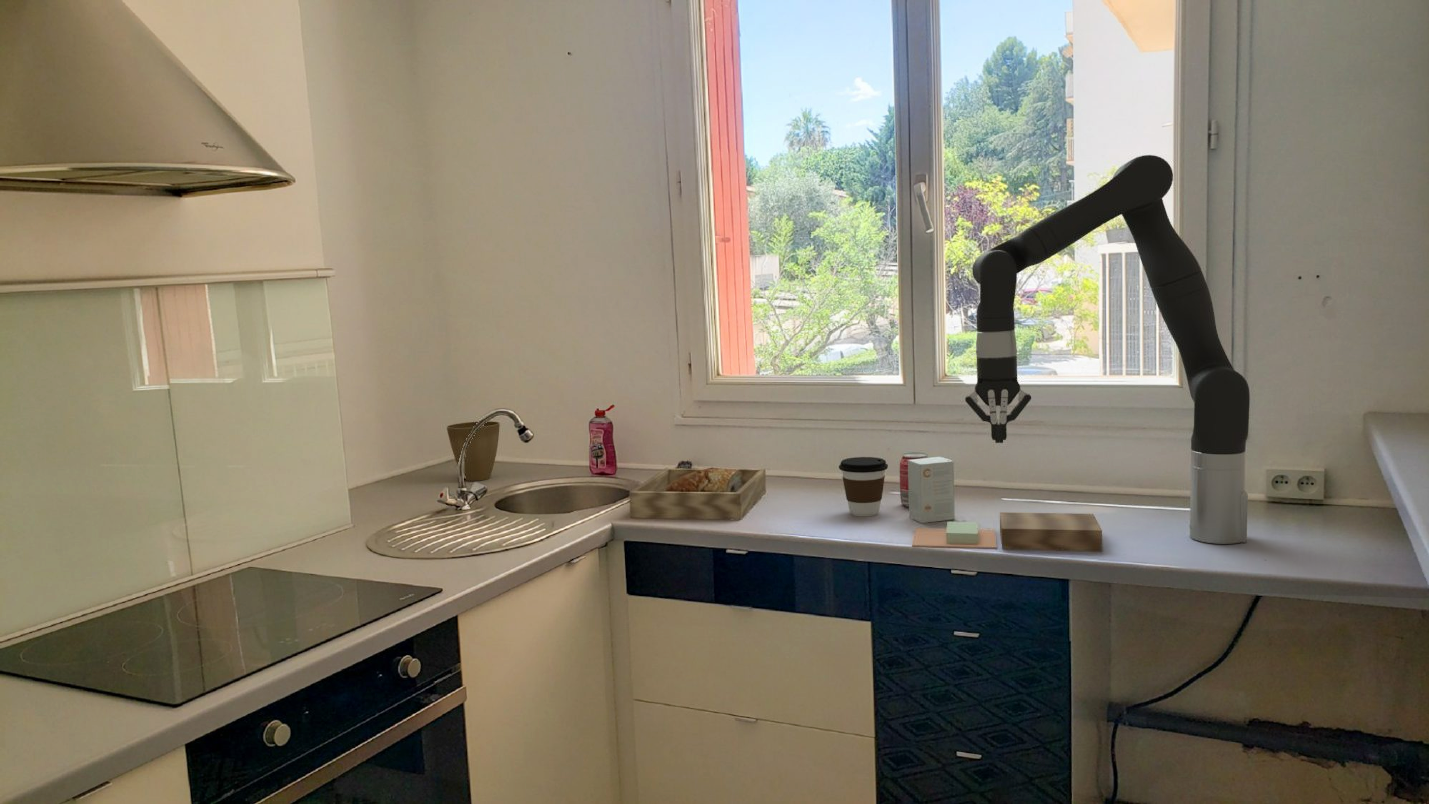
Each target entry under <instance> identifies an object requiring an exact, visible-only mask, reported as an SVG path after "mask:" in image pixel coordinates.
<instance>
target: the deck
mask: <svg viewBox="0 0 1429 804" xmlns="http://www.w3.org/2000/svg"><path fill="white" fill-rule="evenodd" d="M1098 522H1099V521H1098V520H1097V518H1096V515H1095V514H1094V513H1063V512H1061V513H1060V512H1055V513H1054V512H1007V511H1006V512H1001V511H1000V512H999V535H1000V543H1001V548H1002V550H1030V549H1039V550H1040V549H1041V551H1071V550H1074V551H1073V552H1075V551H1076V550H1077V551H1078V550H1079V551H1078V552H1081V550H1082V552H1083V551H1084V552H1103V530H1102V527H1101V525H1100V524H1099V523H1098Z"/></svg>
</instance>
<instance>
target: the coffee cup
mask: <svg viewBox="0 0 1429 804" xmlns="http://www.w3.org/2000/svg"><path fill="white" fill-rule="evenodd" d="M888 468H889V465H888V464H887V462H886V460H885V459H884V458H881V457H873V456H855V457H848V458H844V459H842V460H841V461H840V464H839V465H838V469H839V470H840V471H841V472H842V481H843V489H844V492H845V498H846V500H847V505H848V509H849V512H850V513H851V515H853V516H856V517H870V516H871V517H873V516H876V515H878V513H879V512H880V510H881V509H880V508H881V501H882V499H883V493H884V485H885V478H886V476H885V472H886V470H887V469H888Z"/></svg>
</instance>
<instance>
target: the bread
mask: <svg viewBox="0 0 1429 804" xmlns="http://www.w3.org/2000/svg"><path fill="white" fill-rule="evenodd" d="M702 469H703V470H699V471H695V472H692V473H689V474H686V475H684V476H682V477H680V478H678V479H677V480H675V481H673V482H672V483H670V484H669V485H668V486H667V487H666V488H665V489H664V490H663V491H662V492H737V491H738V490H739V489H740V488H741V487H742V486H743V485H742V473H741V471H739V470H736V469H737V468H722V467H720V468H718V467H708V468H702Z"/></svg>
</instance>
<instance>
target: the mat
mask: <svg viewBox="0 0 1429 804" xmlns="http://www.w3.org/2000/svg"><path fill="white" fill-rule="evenodd" d="M946 531H947V528H915V529H914V534H913V538H912V539H913V540H912V544H911V547H912V548H913V547H914V548H915V547H916V548H948V549H949V548H951V549H952V548H953V549H955V548H957V549H994V550H995V549H996V550H997V537H996V530H995V529H978V544H973V543H946Z"/></svg>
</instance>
